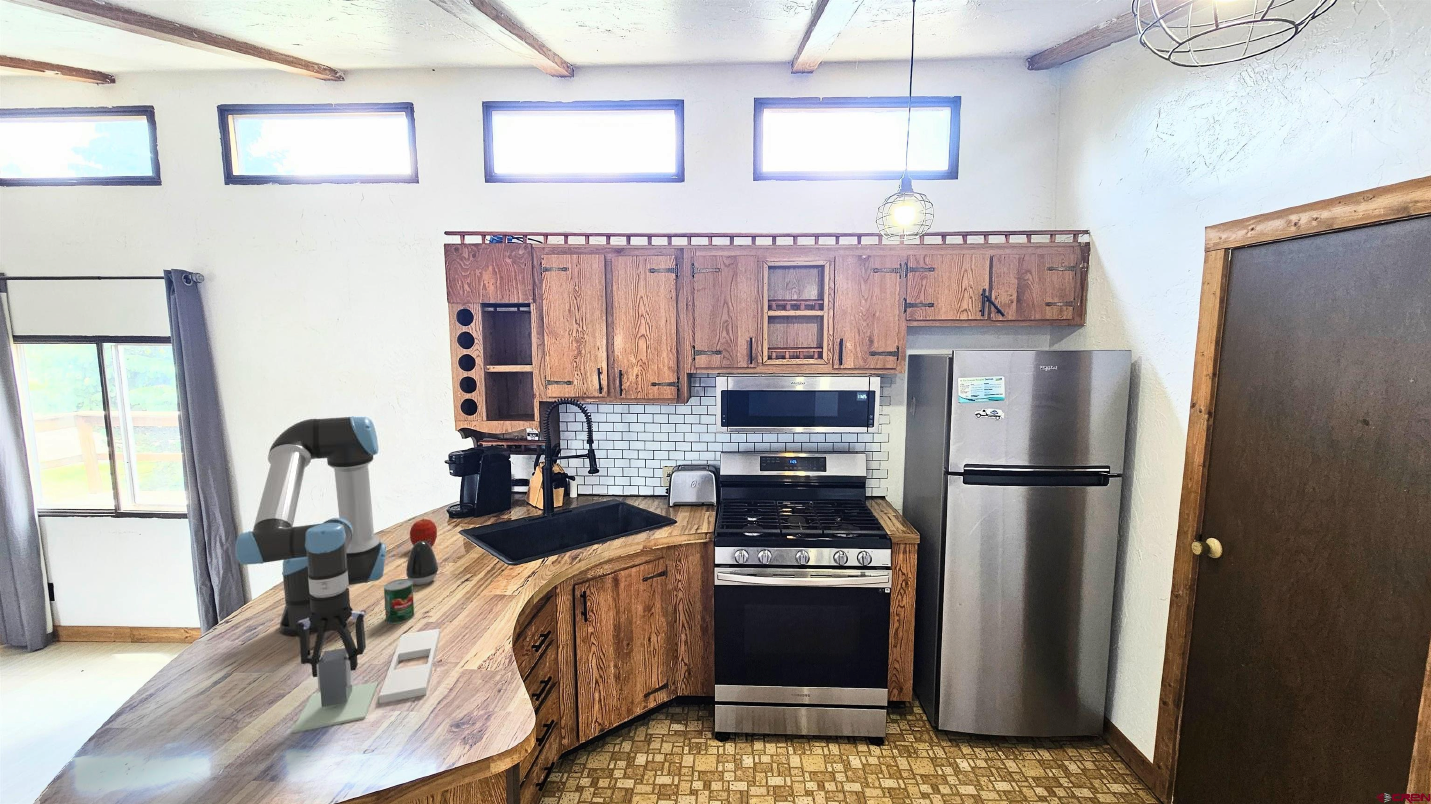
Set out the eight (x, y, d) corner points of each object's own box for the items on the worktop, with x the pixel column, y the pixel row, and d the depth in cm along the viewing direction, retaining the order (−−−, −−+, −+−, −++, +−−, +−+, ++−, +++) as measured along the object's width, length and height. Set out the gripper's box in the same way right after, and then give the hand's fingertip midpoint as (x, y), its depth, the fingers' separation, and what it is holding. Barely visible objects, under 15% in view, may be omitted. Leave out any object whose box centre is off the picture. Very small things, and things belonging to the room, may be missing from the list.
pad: (292, 733, 123) (291, 730, 123) (312, 695, 136) (312, 693, 136) (365, 718, 128) (364, 716, 128) (378, 683, 141) (378, 681, 141)
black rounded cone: (444, 576, 206) (442, 536, 205) (427, 588, 196) (425, 547, 194) (418, 575, 207) (416, 535, 206) (400, 587, 197) (398, 546, 195)
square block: (321, 707, 129) (318, 662, 128) (328, 694, 134) (324, 651, 132) (346, 702, 131) (343, 658, 129) (352, 690, 135) (349, 647, 134)
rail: (379, 703, 134) (379, 695, 133) (401, 641, 162) (401, 634, 161) (426, 694, 137) (425, 686, 137) (440, 635, 165) (439, 628, 165)
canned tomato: (401, 625, 171) (399, 590, 170) (379, 622, 172) (377, 588, 171) (420, 612, 179) (418, 580, 177) (398, 610, 180) (396, 577, 179)
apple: (411, 547, 236) (409, 515, 234) (438, 544, 240) (436, 512, 238) (409, 556, 226) (407, 522, 225) (437, 552, 230) (435, 519, 229)
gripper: (276, 604, 123) (284, 703, 125) (370, 592, 129) (376, 686, 131) (288, 590, 130) (296, 684, 132) (377, 579, 136) (383, 669, 138)
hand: (336, 685), depth 132 cm, fingers closed on square block, 5 cm apart
